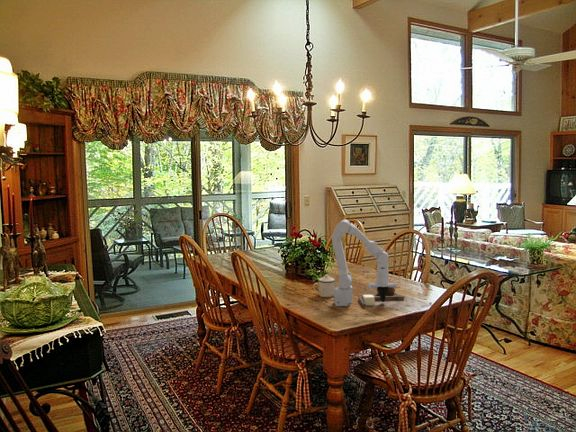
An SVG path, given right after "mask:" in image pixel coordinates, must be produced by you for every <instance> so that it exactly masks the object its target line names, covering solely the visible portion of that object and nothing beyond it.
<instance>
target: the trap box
mask: <svg viewBox="0 0 576 432" xmlns="http://www.w3.org/2000/svg"><path fill="white" fill-rule="evenodd" d="M373 296H374V295H373ZM374 297H375V305H365V303H364V301H363V296H358V301H357V302H359V304H360V305H361V306H362V309H369V308H370V309H371V308H372V309H373V308H375V309H376V306H386V308H394V305H396V306H399V305H401V306H404V307H405V308H409V307H411V305H410V304H409V303H408V302H407V301H406V300H405V296H404V295H394V296H386V297H385V301H384V302H382V301H381V298H380V295H378V296H376V295H375V296H374Z"/></svg>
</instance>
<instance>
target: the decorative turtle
mask: <svg viewBox="0 0 576 432" xmlns="http://www.w3.org/2000/svg"><path fill="white" fill-rule="evenodd" d="M388 288H389V291H388V292H387V294H386V296H395V293H396V289H395V287H388ZM376 292H377V293H376V294H377V295H378V296H380V294H379V292H378V289H377V288H376Z"/></svg>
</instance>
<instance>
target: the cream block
mask: <svg viewBox="0 0 576 432" xmlns="http://www.w3.org/2000/svg"><path fill="white" fill-rule="evenodd" d="M362 297H363V301H364V303H365V305H374V306H376V305H375V297H374V295H373V294H362Z"/></svg>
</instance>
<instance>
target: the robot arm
mask: <svg viewBox="0 0 576 432" xmlns="http://www.w3.org/2000/svg"><path fill="white" fill-rule="evenodd" d="M347 233H348V235H352V236H354V237H355V238H357V240H359V241H360V242H361V243H362V244H363V245H364V246H365V250H366V251H367V252H368V253H369V254H370V255H371V256H372V257H373V258H375V259H376V261H377V265H376V266H377V267H376V282H371V283H368V284H367V287H368V289H372V288H374V289H375V288H376V290H377V289H378V292H379V294H380V295H379V296H380V298H381V301H382V302H384V301H385V297H386V294H387V292H388V291H389V288H388V287H394V288H398V283H397V282H389V275H390V274H389V270H390V269H389V261H390V259H389V258H390V257H389V254H388V252H387V251H386V250H385V249H384V248H382V247H380V245H378V242H377V241H375V240H369V238H367V236H365V234H364V233H363V232H362V231H361V230H360V229H359V228H358V227H357V226H356V225H355V224H354V223H351V222H350V220H348V219H346V218H345V219H341V220H340V221H339V222H338V223H337V224H336V226H335V227H334V231H333V233H332V235H331V242H332V247H333V251H334V255H335V261H336V265H337V270H338V278H339V279H338V286H337V287H334V296H333V297H334V298H333V301H334V302H333V303H334V305H335V306H336V307H351V305H350V304H352V303H353V286H352V282H353V276H352V275H351V273H350V269H349V268H348V263H347V260H346V259H347V258H346V255H345V250H344V245H343V242H342V241H343V240H342V238H343V237H344V235H346V234H347Z"/></svg>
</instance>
